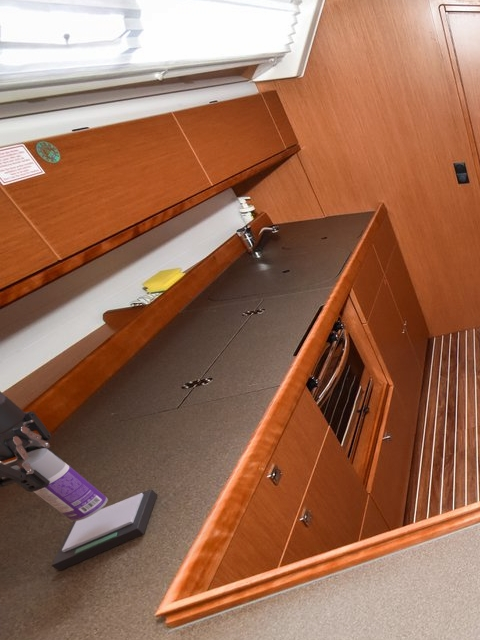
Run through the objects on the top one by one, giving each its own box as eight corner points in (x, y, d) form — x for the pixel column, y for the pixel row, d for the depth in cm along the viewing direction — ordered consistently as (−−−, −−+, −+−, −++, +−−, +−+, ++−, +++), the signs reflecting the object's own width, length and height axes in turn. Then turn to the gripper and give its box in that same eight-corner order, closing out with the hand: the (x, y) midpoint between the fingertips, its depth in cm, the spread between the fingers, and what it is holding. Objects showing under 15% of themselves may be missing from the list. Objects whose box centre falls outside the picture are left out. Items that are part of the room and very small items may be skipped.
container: (109, 492, 80) (51, 442, 72) (106, 508, 77) (45, 459, 70) (72, 508, 77) (8, 459, 70) (68, 526, 74) (1, 477, 67)
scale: (59, 571, 74) (48, 564, 73) (81, 526, 81) (71, 518, 80) (144, 534, 79) (135, 526, 78) (158, 494, 86) (149, 487, 85)
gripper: (-47, 393, 67) (34, 458, 75) (-111, 455, 56) (-8, 522, 65) (24, 374, 70) (94, 438, 79) (-24, 428, 60) (62, 495, 69)
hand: (47, 476), depth 72 cm, fingers closed on container, 4 cm apart
